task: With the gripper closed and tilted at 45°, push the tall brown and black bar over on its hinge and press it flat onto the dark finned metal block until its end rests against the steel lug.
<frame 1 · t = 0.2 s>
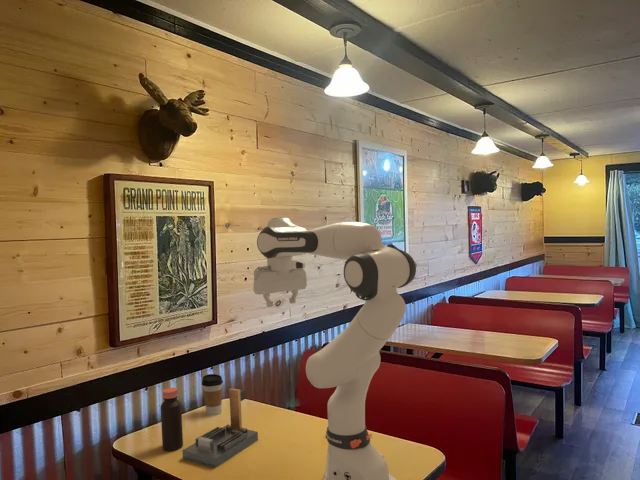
hand: (281, 304, 168), 48 cm above the table, tool pointing down, fingers open, 8 cm apart
brown and black bar: (238, 408, 174), point 11 cm above the table, hinge at 0.0°
coffee cup: (213, 413, 199), on the table
bottle: (172, 447, 169), on the table
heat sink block: (237, 439, 173), on the table
bread roll: (339, 436, 173), on the table
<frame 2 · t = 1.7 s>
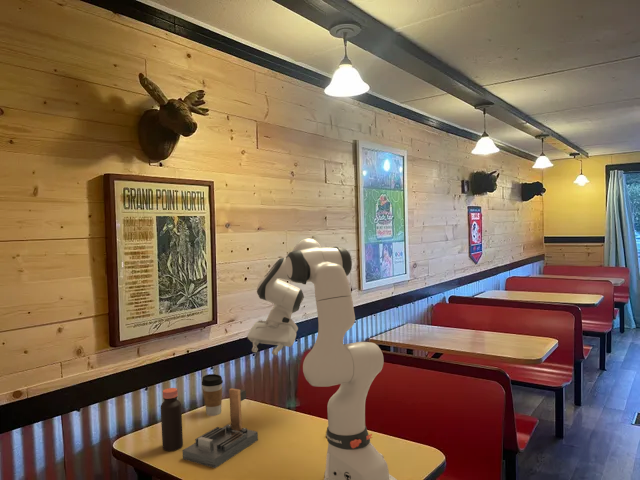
hand: (263, 352, 187), 27 cm above the table, tool tilted 45°, fingers open, 8 cm apart
nothing on the table moved.
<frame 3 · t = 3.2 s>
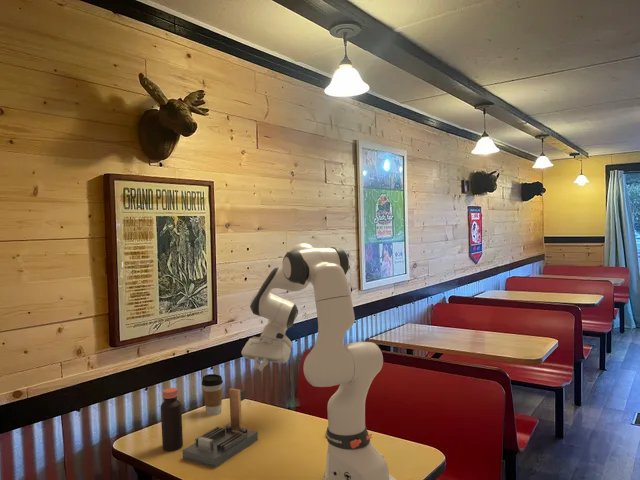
hand: (257, 369, 183), 21 cm above the table, tool tilted 45°, fingers closed
nothing on the table moved.
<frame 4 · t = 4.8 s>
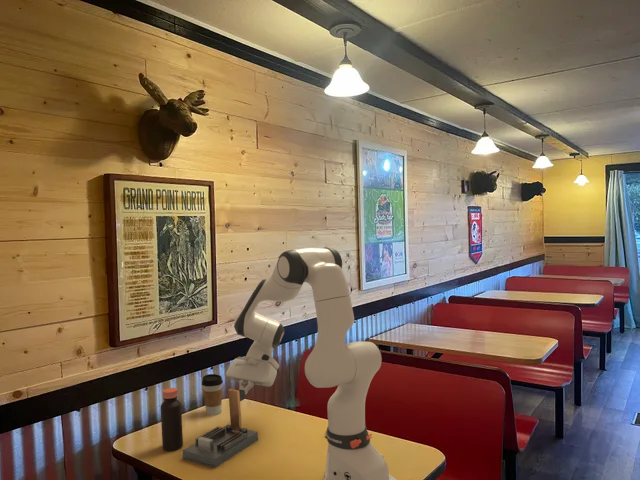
hand: (241, 393, 175), 15 cm above the table, tool tilted 45°, fingers closed, pressing on brown and black bar
brown and black bar: (237, 408, 173), point 11 cm above the table, hinge at 2.2°, touching gripper
everything else where it was.
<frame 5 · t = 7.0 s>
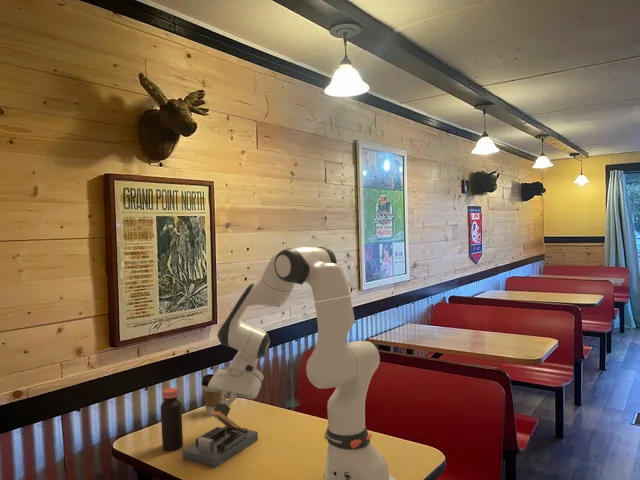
hand: (224, 406, 167), 14 cm above the table, tool tilted 45°, fingers closed, pressing on brown and black bar
brown and black bar: (228, 417, 169), point 10 cm above the table, hinge at 47.3°, touching gripper
everything else where it was.
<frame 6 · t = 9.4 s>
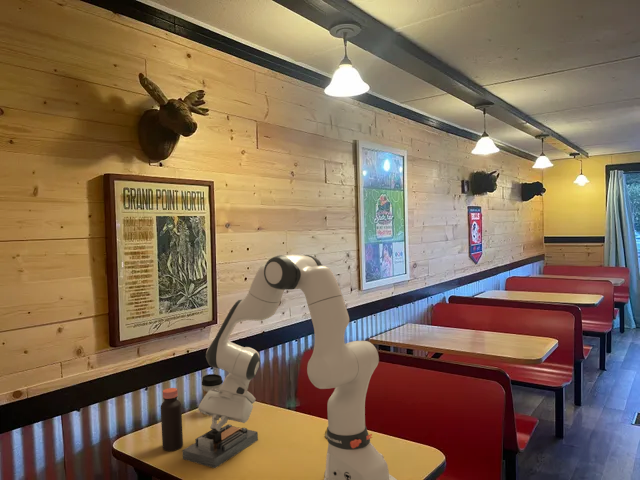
hand: (214, 429, 163), 8 cm above the table, tool tilted 45°, fingers closed, pressing on brown and black bar
brown and black bar: (223, 432, 167), point 5 cm above the table, hinge at 91.2°, touching gripper, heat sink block
everything else where it was.
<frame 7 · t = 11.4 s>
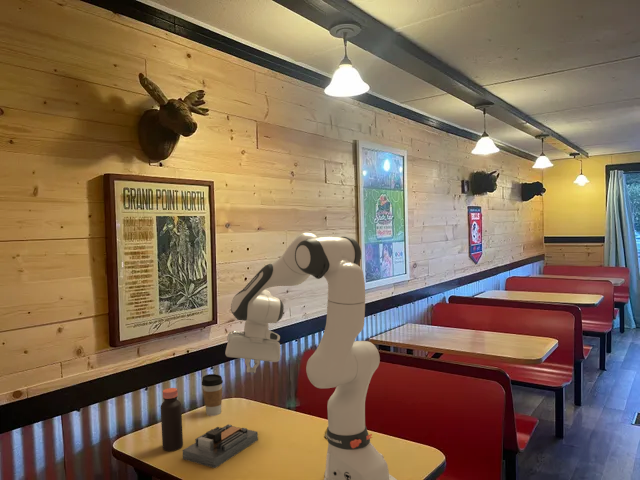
hand: (251, 372, 175), 23 cm above the table, tool tilted 20°, fingers closed
brown and black bar: (223, 432, 167), point 5 cm above the table, hinge at 90.7°
everything else where it was.
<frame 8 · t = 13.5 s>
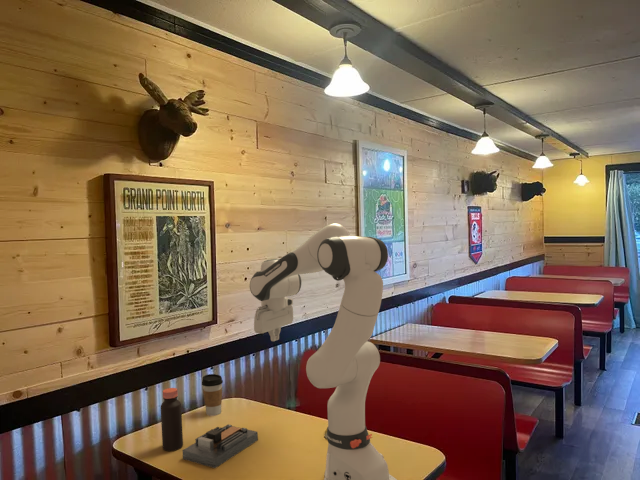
hand: (274, 340, 180), 33 cm above the table, tool pointing down, fingers closed
nothing on the table moved.
at the end: brown and black bar at +91° (first picture: +0°) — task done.
